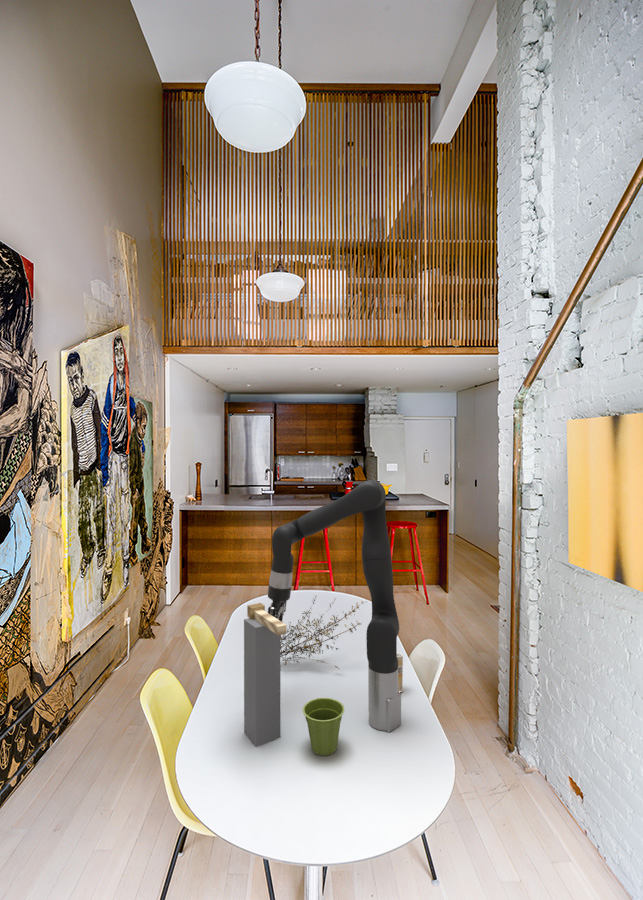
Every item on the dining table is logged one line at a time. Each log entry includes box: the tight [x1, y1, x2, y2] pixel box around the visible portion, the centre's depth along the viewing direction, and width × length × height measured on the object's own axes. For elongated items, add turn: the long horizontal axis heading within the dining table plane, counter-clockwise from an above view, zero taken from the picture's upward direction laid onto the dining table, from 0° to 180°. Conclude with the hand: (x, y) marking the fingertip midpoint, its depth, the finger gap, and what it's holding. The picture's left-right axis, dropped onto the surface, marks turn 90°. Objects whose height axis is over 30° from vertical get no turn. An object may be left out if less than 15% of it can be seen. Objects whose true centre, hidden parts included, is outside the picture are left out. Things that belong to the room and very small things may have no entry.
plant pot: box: [302, 697, 345, 757], centre depth 130 cm, size 12×12×11 cm
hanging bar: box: [246, 602, 288, 636], centre depth 134 cm, size 18×4×3 cm, turn 34°
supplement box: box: [397, 650, 404, 692], centre depth 161 cm, size 8×5×13 cm, turn 105°
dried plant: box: [280, 596, 368, 668], centre depth 181 cm, size 30×31×45 cm
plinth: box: [243, 617, 281, 748], centre depth 136 cm, size 8×8×34 cm
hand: (274, 631), depth 154 cm, fingers open, 8 cm apart
